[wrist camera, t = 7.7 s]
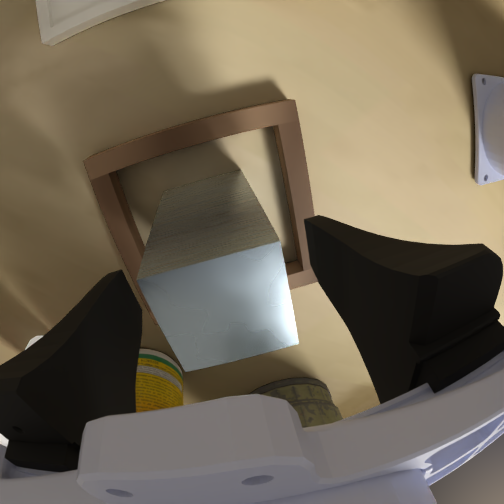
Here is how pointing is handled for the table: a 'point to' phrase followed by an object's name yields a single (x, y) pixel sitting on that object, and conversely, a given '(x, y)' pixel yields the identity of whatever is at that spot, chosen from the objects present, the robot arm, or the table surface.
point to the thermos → (305, 400)
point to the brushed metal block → (217, 274)
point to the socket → (198, 132)
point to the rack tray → (79, 15)
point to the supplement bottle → (157, 382)
